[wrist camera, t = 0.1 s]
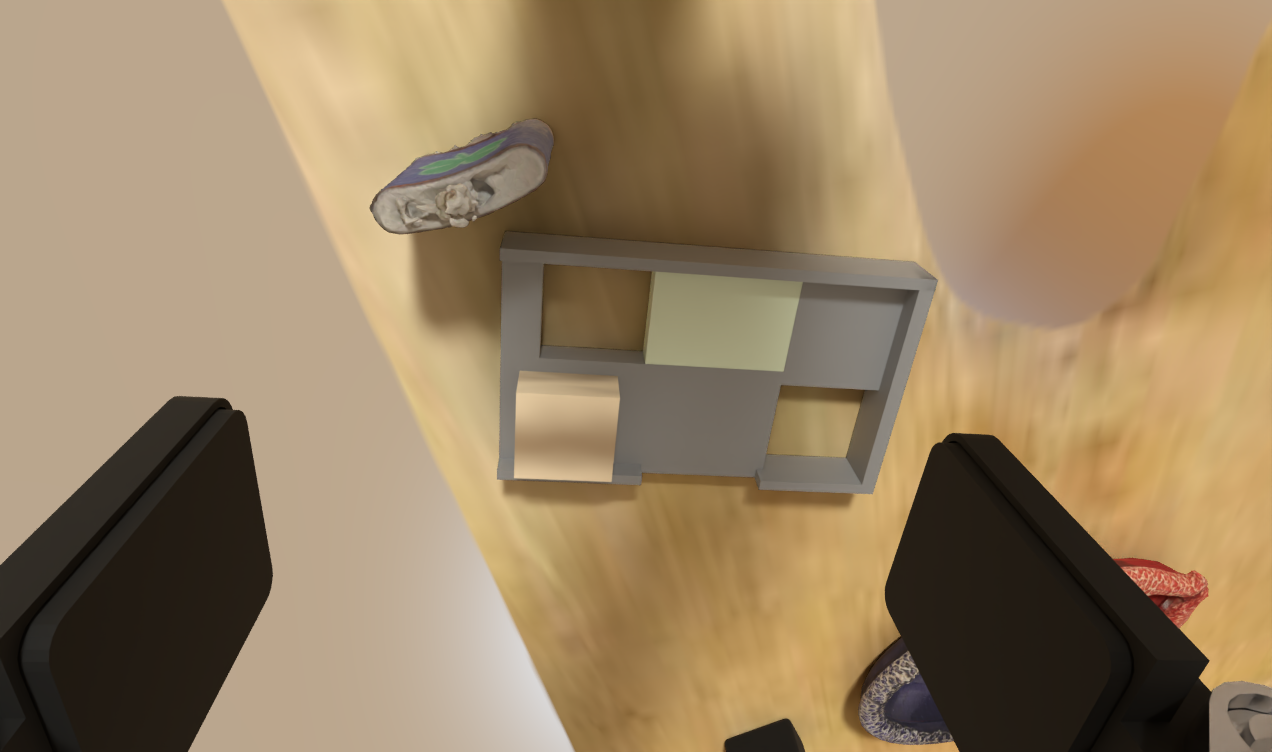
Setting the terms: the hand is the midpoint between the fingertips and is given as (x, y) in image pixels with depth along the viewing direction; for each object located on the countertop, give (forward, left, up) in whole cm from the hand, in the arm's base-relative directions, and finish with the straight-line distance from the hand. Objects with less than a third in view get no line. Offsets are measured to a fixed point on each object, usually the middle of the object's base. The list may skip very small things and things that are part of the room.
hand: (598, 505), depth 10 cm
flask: (+3, -6, -37) cm, 38 cm away
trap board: (+15, +9, -37) cm, 41 cm away
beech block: (+19, 0, -35) cm, 40 cm away
